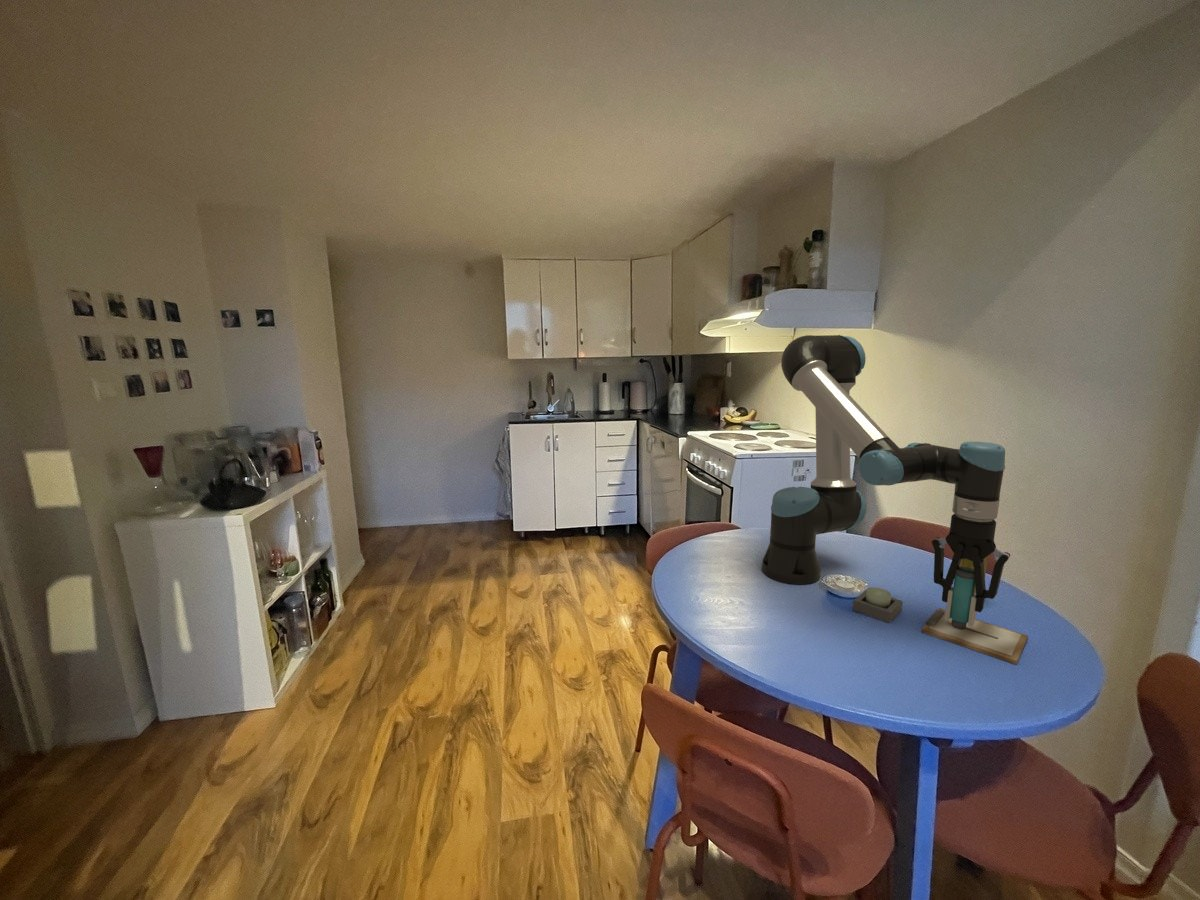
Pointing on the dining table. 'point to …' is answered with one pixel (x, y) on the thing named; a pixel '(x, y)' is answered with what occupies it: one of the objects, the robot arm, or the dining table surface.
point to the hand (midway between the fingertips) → (960, 620)
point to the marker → (962, 596)
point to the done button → (878, 597)
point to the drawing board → (978, 637)
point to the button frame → (877, 608)
